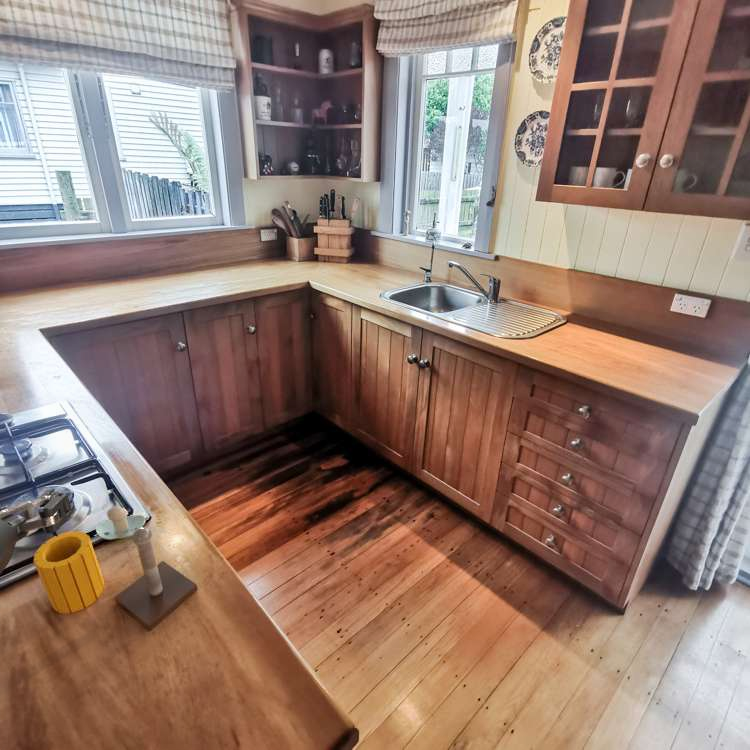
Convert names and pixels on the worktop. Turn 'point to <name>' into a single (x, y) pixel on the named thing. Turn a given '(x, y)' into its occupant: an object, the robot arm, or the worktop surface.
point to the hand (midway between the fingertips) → (10, 507)
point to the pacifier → (119, 524)
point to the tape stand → (154, 586)
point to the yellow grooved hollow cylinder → (69, 571)
